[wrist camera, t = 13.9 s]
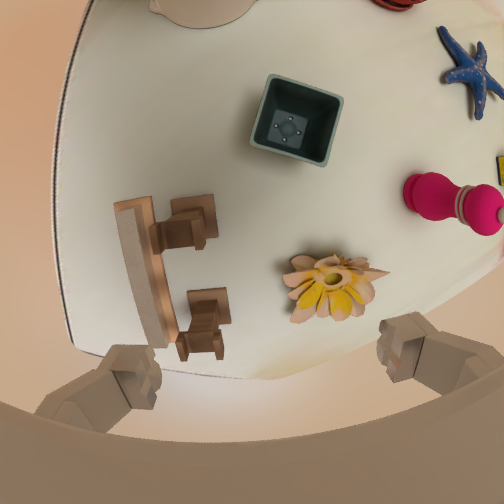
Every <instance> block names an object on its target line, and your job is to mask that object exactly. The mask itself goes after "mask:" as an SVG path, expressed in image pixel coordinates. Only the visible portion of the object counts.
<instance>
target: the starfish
mask: <svg viewBox="0 0 504 504" xmlns="http://www.w3.org/2000/svg"><path fill="white" fill-rule="evenodd" d="M438 31H439V34H440V37H441V39H442V41H443V42H444V44H445V46H446V47H447V49H448V50H449V52H450V53H451V55H452V56H453V57H454V59H455V60H456V61H457V63H458V65H459V67H456V68H453V69H452V70H450V71H448V72H447V73H446V75H445V76H444V80H445V82H446V83H448V84H451V83H454V82H457V81H461V82H466V83H468V84H469V85H470V86H471V89H472V92H473V96H474V100H475V113H474V115H475V119H476V120H480V119H482V117H483V110H484V107H485V101H486V89H489V90H491V91H493V92H494V93H495V94H497V95H498V96H499V97H500V98H501V99H503V100H504V89H503V88H502V87H501V86H500V84H499V83H498V82H497V81H496V80H495V79H494V78H492V77H491V76H490V75H489V73H488V72H487V71H486V68H485V66H486V62H487V54H486V50H485V48H484V46H483V44H482V43H481V42H480V41H479V42H478V43H477V54H476V56H475V57H474V59H473V58H472V57H471V56H469V54H468V53H467V52H466V51H465V50H464V49H463V48H462V47H461V46H460V45H459V44H458V43H457V42H456V41H455V40H454V39H453V38H452V37H451V36H450V34H449V33H448V31H447V29H446V28H445V27H444V26H440V27H439V28H438Z"/></svg>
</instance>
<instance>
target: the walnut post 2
mask: <svg viewBox="0 0 504 504" xmlns="http://www.w3.org/2000/svg"><path fill="white" fill-rule="evenodd" d="M187 296H188V301H189V306H190V310H191V315H192V321H191V324H190V327H189V330H188V331H185V332H179V333H178V336H177V338H176V341H175V344H176V347H177V351H178V354H179V357H180V361H181V362H182V361H187V359H188V355H189V353H199V352H215V355H216V359H217V360H223V357H224V344H223V339H222V334H221V329H218V328H219V325H221V324H231V316H230V310H229V303H228V297H227V290H226V287H224V288H213V289H202V290H190V291H187Z"/></svg>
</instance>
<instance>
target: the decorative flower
mask: <svg viewBox="0 0 504 504" xmlns="http://www.w3.org/2000/svg"><path fill="white" fill-rule="evenodd" d="M350 260H351V258H350V259H347V260H346V261H344V257H343V254H341V255H340V256H339V258H338V257H337V256H336V254H335V253H334V255H333V256H332V257H331V256H330V257H327V258H324V259H319V260H315V259H313V258H311V257H309V256H304V255H300V256H296V257H295V258H294V259H292V261H291V263H292V265H293V266H294V267H295V269H296V270H297V271H295V272H292V273H289V274H285V275H283V277H282V278H283V281H284V283H285V284H286V285H287V286H289V287H294V288H295V289H294V290H293V291H291V292H290V293H288V296H289V297H290V298H291V299H295V300H298V299H299V300H298V301H297V302H296V305H297V306H296V308H295V310H294V312H293V314H292V316H291V318H290V322H292V323H298V324H299V323H302V322H306V321H307V320H308V319H310V318H311V317H313V316H314V314H315V313H316V311H317V317H321V318H323V317H327V316H329V315H330V314H331V316H332V318H333V319H334V320H335V321H343V320H345V319H346V318H348V317H349V315H352V316H355V317H359V316H361V315H363V314H364V311H365V304H366V305H367V304H368V303H370V302H371V301H372V300H373V298H374V296H375V291H374V288H373V286H372V284H371V283H370V282H371V281H373V280H376V279H378V278H380V277H382V276H385V275H387V274H389V273H390V272H386V271H382V270H378V269H373V268H369V263H366V261H367V258H364V257H359V258H355V259H353V260H351V261H350Z"/></svg>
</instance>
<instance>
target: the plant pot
mask: <svg viewBox="0 0 504 504" xmlns="http://www.w3.org/2000/svg"><path fill="white" fill-rule="evenodd" d="M375 1H376V2H378V3H379V4H381V5H383V6H385V7H388V8H390V9H394V10H408V9H410V8H411V7H412V6H413V4H417V3H421V2H424V1H426V0H375Z"/></svg>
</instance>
